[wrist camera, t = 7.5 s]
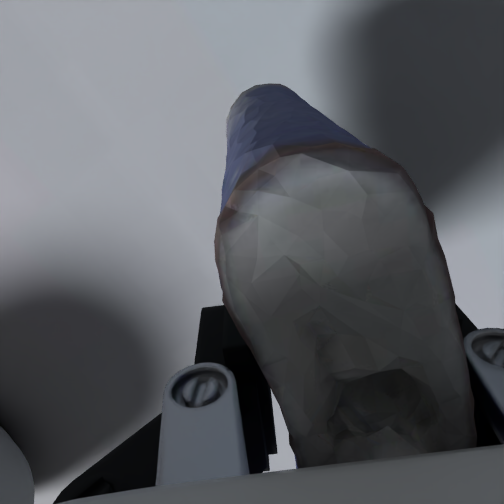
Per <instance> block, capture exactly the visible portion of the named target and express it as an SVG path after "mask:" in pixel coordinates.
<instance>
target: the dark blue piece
mask: <svg viewBox="0 0 504 504" xmlns="http://www.w3.org/2000/svg"><path fill="white" fill-rule="evenodd" d="M214 244H215V262H216V265H217V268H218V273H219V278H220V284H221V288H222V291H223V299H222V301H223V303H224V305H225V307H226V309H227V310H228V312H229V314H230V316H231V318H232V320H233V322H234V324H235V326H236V328H237V330H238V331H239V333H240V335H241V337H242V338H243V340H244V341H245V342H246V344H247V345H248V347H249V348H250V350H251V352H252V354H253V355H254V357H255V359H256V361H257V363H258V365H259V367H260V369H261V371H262V372H263V374H264V376H265V378H266V380H267V382H268V384H269V386H270V388H271V390H272V392H273V394H274V396H275V398H276V400H277V402H278V403H279V406H280V408H281V411H282V414H283V417H284V420H285V423H286V426H287V429H288V432H289V444H290V446H291V448H292V450H293V452H294V454H295V461H296V469H299V468H307V467H315V466H323V465H332V464H340V463H348V462H357V461H365V460H374V459H382V458H391V457H399V456H408V455H416V454H425V453H433V452H442V451H451V450H459V449H468V448H476V447H477V433H476V427H475V421H474V397H473V394H472V390H471V386H470V378H469V371H468V365H467V360H466V354H465V348H464V342H463V337H462V332H461V328H460V324H459V320H458V316H457V313H456V309H455V295H454V291H453V287H452V283H451V279H450V275H449V271H448V266H447V262H446V258H445V255H444V252H443V250H442V247H441V245H440V242H439V240H438V237H437V231H436V226H435V220H434V215H433V213H432V212H431V211H430V210H429V209H428V208H427V207H426V206H425V205H424V203H423V201H422V198H421V196H420V194H419V192H418V190H417V188H416V186H415V184H414V182H413V181H412V179H411V178H410V176H409V175H408V173H407V172H406V170H405V169H404V167H402V166H401V165H399V164H398V163H396V162H395V161H393V160H392V159H390V158H389V157H387V156H385V155H384V154H382V153H381V152H379V151H378V150H376V149H375V148H370V147H369V146H367V145H365V144H364V143H362V142H361V141H360V140H358V139H357V138H356V137H354V136H353V135H351V134H350V133H349V132H347V131H346V130H344V129H343V128H341V127H339V126H338V125H336V124H335V123H334V122H333V121H331V120H330V119H329V118H327V117H326V116H325V115H323V114H322V113H321V112H319V111H318V110H316V109H315V108H313V107H312V106H310V105H309V104H308V103H307V102H306V101H305V100H303V99H302V98H300V97H299V96H298V95H297V94H296V93H295V92H294V91H292V90H291V89H289V88H288V87H286V86H284V85H281V84H262V85H255V86H253V87H252V88H250V89H248V90H246V91H244V92H242V93H241V94H240V96H239V97H238V99H237V100H236V101H235V103H234V104H233V105H232V107H231V109H230V112H229V115H228V117H227V157H226V171H225V175H224V180H223V186H222V203H221V211H220V215H219V217H218V219H217V226H216V233H215V240H214Z"/></svg>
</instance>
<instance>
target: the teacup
mask: <svg viewBox="0 0 504 504" xmlns="http://www.w3.org/2000/svg"><path fill="white" fill-rule="evenodd" d="M34 492H35V491H34V481H33V476H32V472H31V469H30V467H29V464H28V461H27V459H26V458H25V456H24V455H23V453H22V452H21V450H20V449H19V447H18V446H17V445H16V443H15V442H14V441H13V440H12V439H11V437H10V436H9V435H8V433H7V432H6V431H5V430H4V429H3V428H2V427H1V426H0V504H34Z"/></svg>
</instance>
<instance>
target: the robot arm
mask: <svg viewBox="0 0 504 504" xmlns="http://www.w3.org/2000/svg"><path fill="white" fill-rule="evenodd" d="M455 309H456V313H457V316H458V320H459V324H460V328H461V332H462V337H463V342H464V348H465V354H466V360H467V365H468V371H469V378H470V386H471V390H472V394H473V397H474V421H475V427H476V433H477V447H476V448H468V449H459V450H451V451H442V452H433V453H425V454H416V455H408V456H399V457H391V458H382V459H374V460H365V461H357V462H348V463H340V464H332V465H323V466H315V467H307V468H299V469H291V470H283V471H275V472H267V473H262V472H263V471H270V468H269V456H268V455H269V454H277V445H276V435H275V426H274V417H273V407H272V398H271V389H270V386H269V384H268V382H267V380H266V378H265V376H264V374H263V372H262V371H261V369H260V367H259V365H258V363H257V361H256V359H255V357H254V355H253V354H252V352H251V350H250V348H249V347H248V345H247V344H246V342H245V341H244V340H243V338H242V337H241V335H240V333H239V331H238V330H237V328H236V326H235V324H234V322H233V320H232V318H231V316H230V314H229V312H228V310H227V309H226V307H225V305H221V306H213V307H205V308H202V311H201V318H200V325H199V333H198V341H197V348H196V356H195V363H194V365H191V366H188V367H186V368H184V369H182V370H180V371H179V372H177V373H176V374H175V375H174V376H173V377H171V379H170V380H169V382H168V383H167V384H166V387H165V390H164V394H163V406H162V413H161V414H159V415H158V416H157V417H156V418H154V419H153V420H152V421H150V422H149V423H148V424H146V425H145V426H144V427H143V428H141V429H140V430H139V431H137V432H136V433H135V434H133V435H132V436H131V437H129V438H128V439H127V440H126V441H124V442H123V443H122V444H120V445H119V446H118V447H116V448H115V449H114V450H113V451H111V452H110V453H109V454H107V455H106V456H105V457H103V458H102V459H101V460H99V461H98V462H97V463H96V464H94V465H93V466H92V467H90V468H89V469H88V470H86V471H85V472H84V473H83V474H81V475H80V476H79V477H77V478H76V479H75V480H73V481H72V482H71V483H70V484H69V485H68V486H67V487H66V488H65V489H64V490H63V491H62V492H61V493H60V494H59V496H58V497H57V499H56V500H55V501H54V503H53V504H504V329H500V328H484V329H477V327H476V326H475V325H474V324H473V323H472V322H471V321H470V320H469V318H468V317H467V316H466V315H465V314H464V313H463V312H462V311H461V309H460V308H459V307H458V306H457V305H456V304H455Z"/></svg>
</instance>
